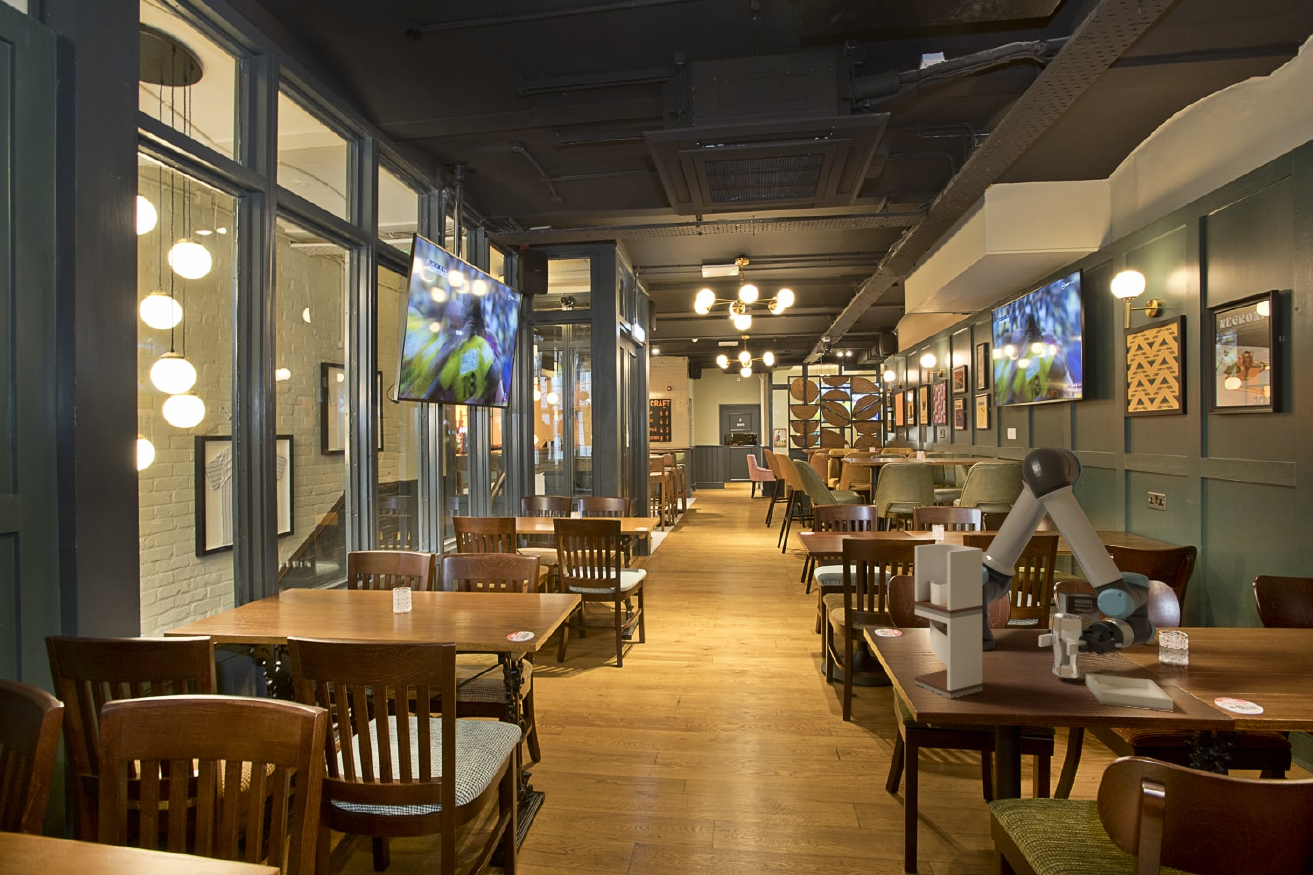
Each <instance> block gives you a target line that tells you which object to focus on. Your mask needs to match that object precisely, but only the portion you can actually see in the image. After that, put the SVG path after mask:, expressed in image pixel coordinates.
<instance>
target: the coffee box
mask: <svg viewBox="0 0 1313 875" xmlns="http://www.w3.org/2000/svg"><path fill="white" fill-rule="evenodd" d="M1057 599H1058V606H1057V608H1058V609H1057V611H1058V612H1057V613H1069V614H1074V615H1078V616H1080V617H1082V624H1083V629H1085V628H1088V627H1089V626H1090V625H1091V624H1092V623H1094V622H1099V621H1100V619H1101V617H1100V615H1101V614H1100V612H1101V610H1100V609H1099V607H1098V603H1097V601H1098V596H1097V594H1093V593H1091V592H1078V591H1061V590H1058V598H1057Z"/></svg>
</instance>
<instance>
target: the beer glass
mask: <svg viewBox="0 0 1313 875" xmlns="http://www.w3.org/2000/svg"><path fill="white" fill-rule="evenodd" d="M1050 629H1051V637H1052V644H1053V645H1052V648H1053V654H1054V655H1053V656H1054V659H1053V660H1054V662H1053V666H1052V670H1051V671H1052V673H1053V674H1054V675H1056V676H1058V677H1062V678H1066V679H1079V678H1080V677H1081V674H1080V673H1081V671H1080V667H1079V665H1080V664H1079V663H1080V662H1079V661H1080V659H1079V658H1080V655H1081V653H1080V654H1076V655H1071V656H1069V655H1067V644H1069V643H1075V642H1081V641H1083V624H1082V617H1080V616H1078V615H1074V614H1069V613H1058V612H1053V613H1052V617H1051V628H1050Z"/></svg>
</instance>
